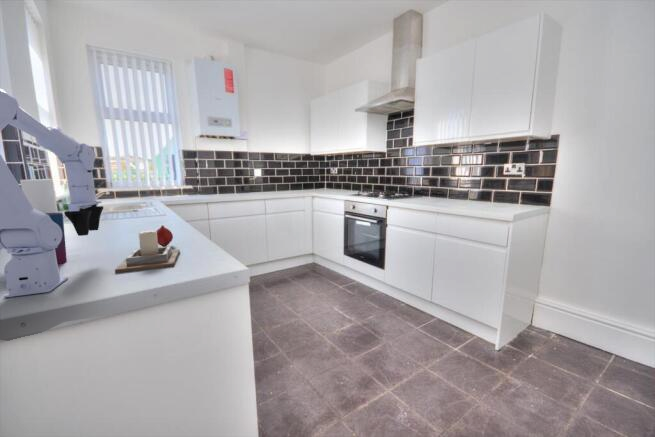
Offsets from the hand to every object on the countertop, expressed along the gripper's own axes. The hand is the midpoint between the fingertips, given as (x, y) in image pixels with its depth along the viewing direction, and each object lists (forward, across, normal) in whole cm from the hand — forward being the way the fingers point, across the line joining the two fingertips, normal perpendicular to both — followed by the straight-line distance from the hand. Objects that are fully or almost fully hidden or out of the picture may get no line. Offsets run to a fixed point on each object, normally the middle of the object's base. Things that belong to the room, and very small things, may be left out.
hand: (88, 232), depth 85 cm
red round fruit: (+10, +13, -17) cm, 23 cm away
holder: (+9, -5, -16) cm, 19 cm away
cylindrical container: (+10, +14, +16) cm, 23 cm away
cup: (+10, +5, +11) cm, 15 cm away
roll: (+8, -5, -16) cm, 19 cm away
